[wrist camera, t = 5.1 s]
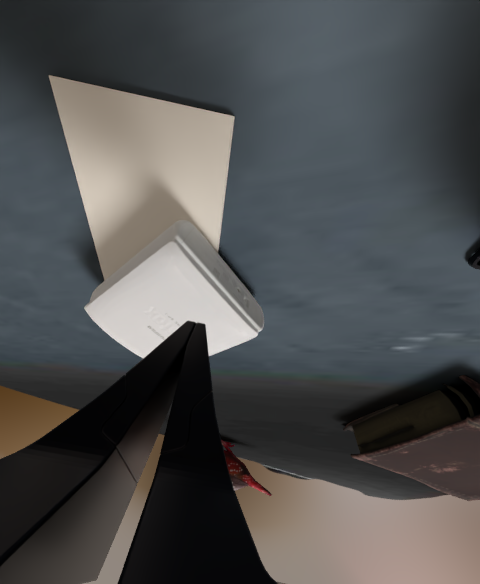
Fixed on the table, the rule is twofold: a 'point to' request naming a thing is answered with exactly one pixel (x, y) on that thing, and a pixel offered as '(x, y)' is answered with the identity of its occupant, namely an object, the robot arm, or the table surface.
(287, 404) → the table surface
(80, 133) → the mat
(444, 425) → the diary
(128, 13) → the table surface
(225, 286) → the photo printer
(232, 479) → the decorative bird figurine
